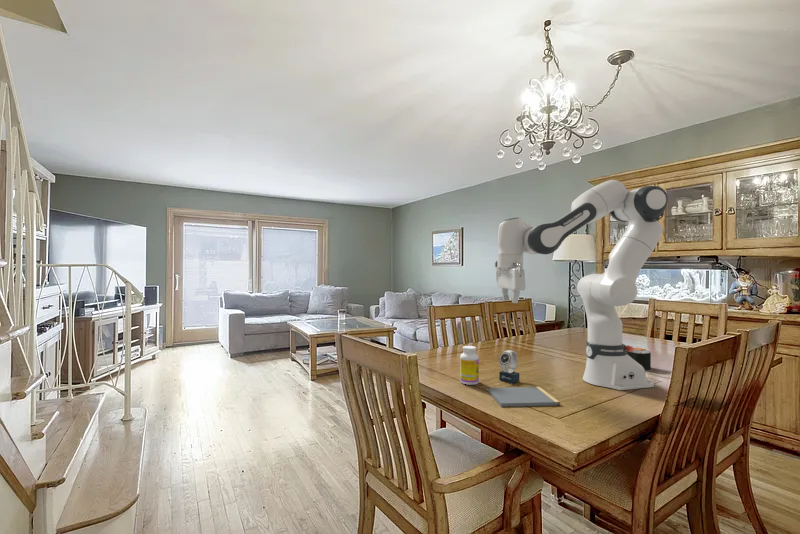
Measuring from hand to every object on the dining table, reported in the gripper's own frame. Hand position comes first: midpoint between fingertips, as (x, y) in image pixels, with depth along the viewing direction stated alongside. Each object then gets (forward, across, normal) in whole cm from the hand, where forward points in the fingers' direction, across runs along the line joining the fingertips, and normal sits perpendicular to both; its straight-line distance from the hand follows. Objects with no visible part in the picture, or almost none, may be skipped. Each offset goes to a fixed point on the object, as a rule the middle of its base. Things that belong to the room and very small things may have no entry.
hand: (510, 301), depth 135 cm
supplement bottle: (+29, 0, +15) cm, 33 cm away
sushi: (+29, +16, -59) cm, 68 cm away
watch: (+29, +1, 0) cm, 29 cm away
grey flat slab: (+29, -16, +2) cm, 33 cm away
